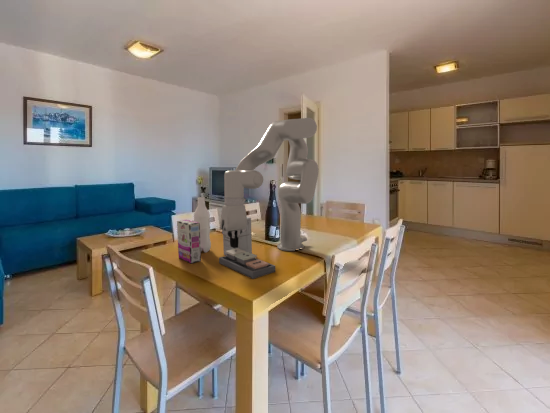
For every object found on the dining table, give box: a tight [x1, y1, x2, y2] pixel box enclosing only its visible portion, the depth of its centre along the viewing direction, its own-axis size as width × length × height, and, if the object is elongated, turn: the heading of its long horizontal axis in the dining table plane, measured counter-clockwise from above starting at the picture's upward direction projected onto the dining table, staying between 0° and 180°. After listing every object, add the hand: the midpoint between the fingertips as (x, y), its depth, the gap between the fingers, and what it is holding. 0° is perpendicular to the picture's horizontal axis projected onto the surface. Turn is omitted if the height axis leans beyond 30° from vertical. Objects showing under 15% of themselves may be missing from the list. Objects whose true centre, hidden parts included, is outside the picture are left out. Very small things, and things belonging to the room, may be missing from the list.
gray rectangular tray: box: [218, 255, 276, 280], centre depth 118 cm, size 11×23×2 cm, turn 41°
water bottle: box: [193, 196, 212, 253], centre depth 138 cm, size 7×7×25 cm
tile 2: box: [235, 252, 258, 265], centre depth 118 cm, size 6×6×3 cm
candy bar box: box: [176, 219, 202, 264], centre depth 127 cm, size 11×5×16 cm, turn 45°
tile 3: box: [246, 258, 269, 271], centre depth 113 cm, size 6×6×3 cm
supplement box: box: [222, 216, 253, 256], centre depth 133 cm, size 10×9×17 cm
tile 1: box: [225, 248, 246, 260], centre depth 123 cm, size 6×6×3 cm
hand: (234, 246), depth 122 cm, fingers closed
